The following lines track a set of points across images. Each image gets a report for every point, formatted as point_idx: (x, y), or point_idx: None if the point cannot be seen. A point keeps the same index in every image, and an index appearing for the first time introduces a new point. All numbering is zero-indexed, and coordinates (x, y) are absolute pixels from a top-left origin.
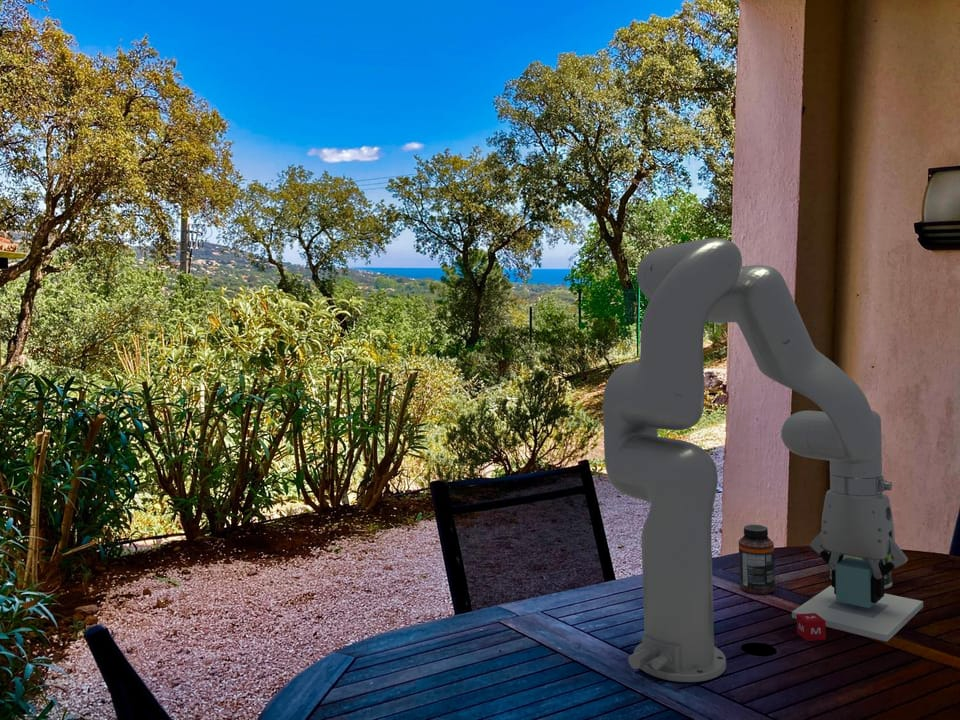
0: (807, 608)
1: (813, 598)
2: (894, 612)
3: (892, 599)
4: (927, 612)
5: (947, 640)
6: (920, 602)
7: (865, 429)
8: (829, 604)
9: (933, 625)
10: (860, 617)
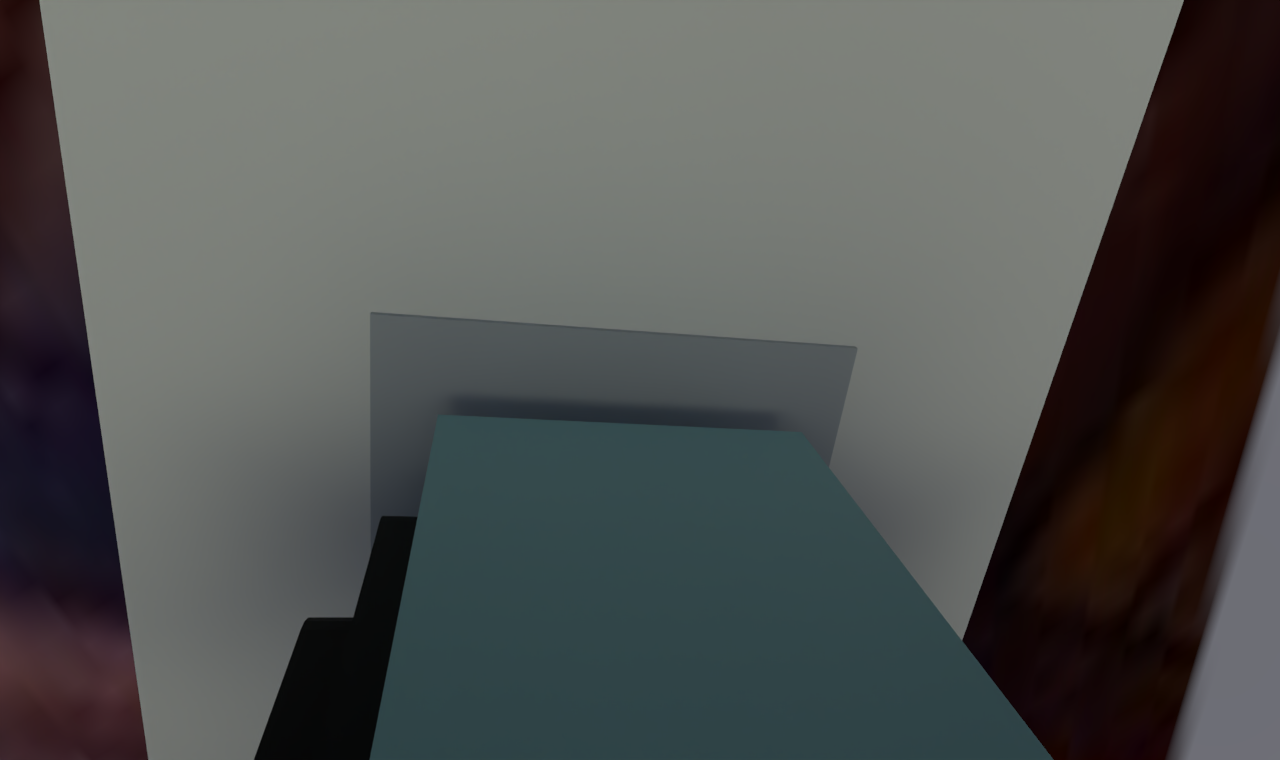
0: None
1: (142, 584)
2: (909, 493)
3: (881, 112)
4: (1153, 123)
5: (1189, 631)
6: (1158, 37)
7: None
8: None
9: (1150, 425)
10: None
